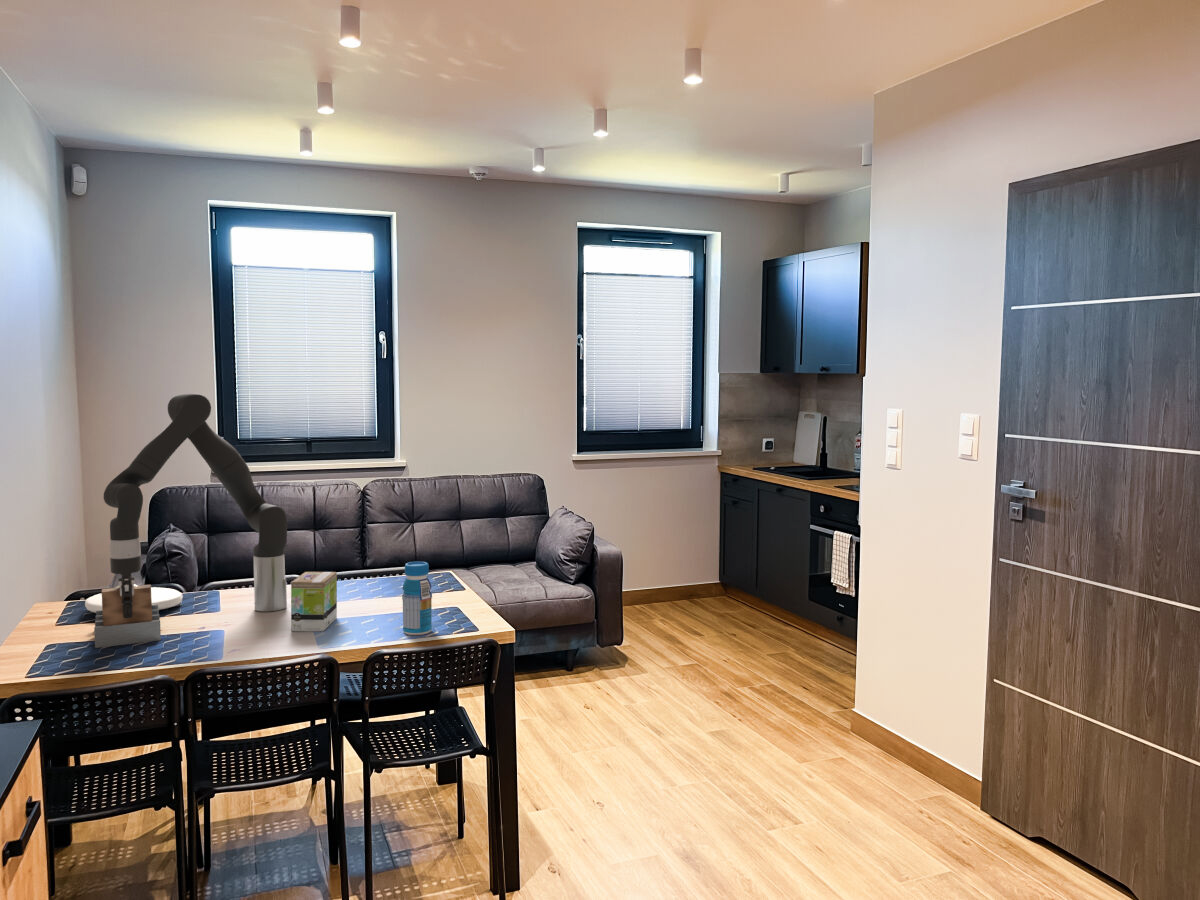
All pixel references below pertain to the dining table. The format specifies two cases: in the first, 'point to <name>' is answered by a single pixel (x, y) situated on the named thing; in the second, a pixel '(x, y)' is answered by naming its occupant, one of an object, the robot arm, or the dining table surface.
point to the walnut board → (114, 606)
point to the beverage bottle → (417, 599)
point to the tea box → (313, 601)
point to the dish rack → (127, 630)
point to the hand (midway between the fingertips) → (127, 615)
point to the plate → (158, 597)
